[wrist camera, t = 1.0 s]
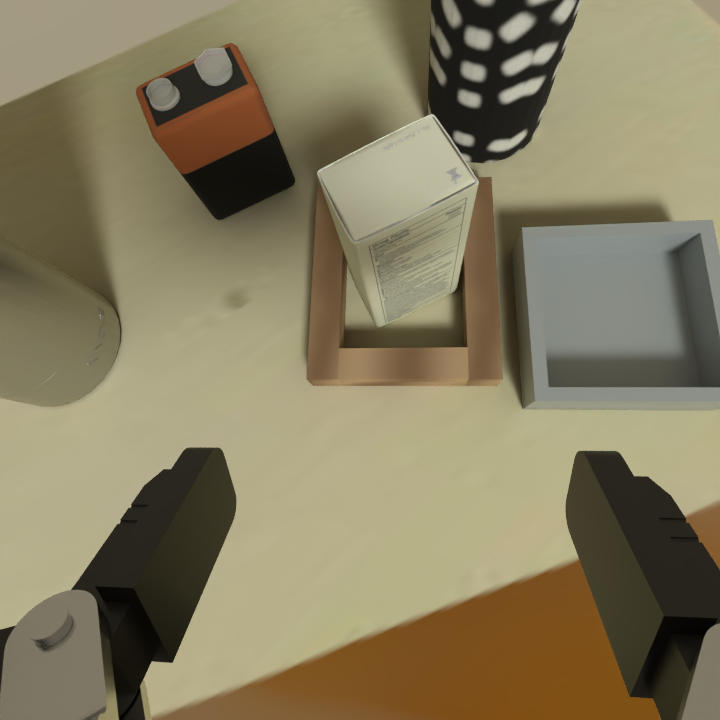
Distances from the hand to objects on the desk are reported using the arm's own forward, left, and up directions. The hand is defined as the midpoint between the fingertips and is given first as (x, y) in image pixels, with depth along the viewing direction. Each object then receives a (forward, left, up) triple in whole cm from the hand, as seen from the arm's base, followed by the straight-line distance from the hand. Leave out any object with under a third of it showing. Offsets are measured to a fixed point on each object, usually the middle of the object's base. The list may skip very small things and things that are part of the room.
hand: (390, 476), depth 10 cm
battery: (-12, +22, -19) cm, 31 cm away
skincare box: (0, +13, -19) cm, 23 cm away
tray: (+13, +10, -18) cm, 25 cm away
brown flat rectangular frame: (0, +13, -18) cm, 23 cm away
